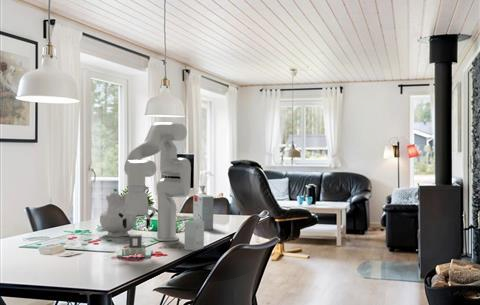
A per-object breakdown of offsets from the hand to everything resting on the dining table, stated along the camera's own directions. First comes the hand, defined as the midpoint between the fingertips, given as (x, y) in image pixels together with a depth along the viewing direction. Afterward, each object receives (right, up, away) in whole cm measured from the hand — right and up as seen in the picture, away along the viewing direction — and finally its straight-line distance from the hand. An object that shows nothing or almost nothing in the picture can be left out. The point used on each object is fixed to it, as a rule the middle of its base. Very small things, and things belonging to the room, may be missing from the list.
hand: (136, 228), depth 226 cm
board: (0, -12, -1) cm, 12 cm away
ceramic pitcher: (-21, -12, +51) cm, 57 cm away
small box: (+24, -12, +16) cm, 31 cm away
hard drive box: (+23, -12, +82) cm, 86 cm away
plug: (0, -10, -1) cm, 10 cm away
